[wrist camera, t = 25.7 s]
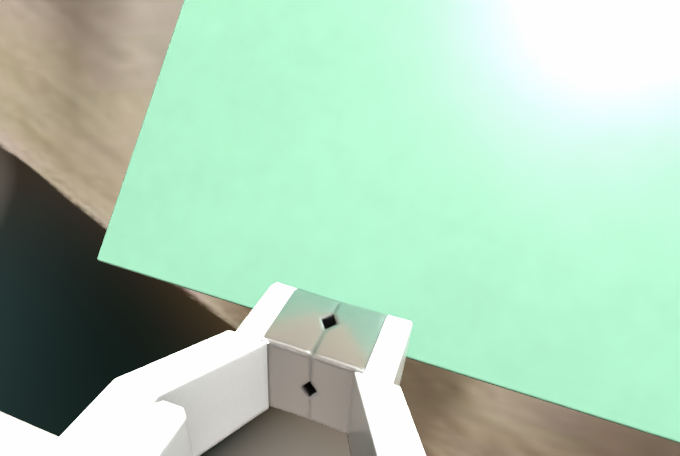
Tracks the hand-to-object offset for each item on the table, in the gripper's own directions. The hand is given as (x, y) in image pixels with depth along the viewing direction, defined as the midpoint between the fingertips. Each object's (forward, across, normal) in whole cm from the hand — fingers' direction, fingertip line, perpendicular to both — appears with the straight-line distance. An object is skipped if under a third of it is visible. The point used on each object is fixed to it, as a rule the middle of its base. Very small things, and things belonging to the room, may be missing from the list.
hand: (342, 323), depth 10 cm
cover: (+5, 0, -4) cm, 7 cm away
